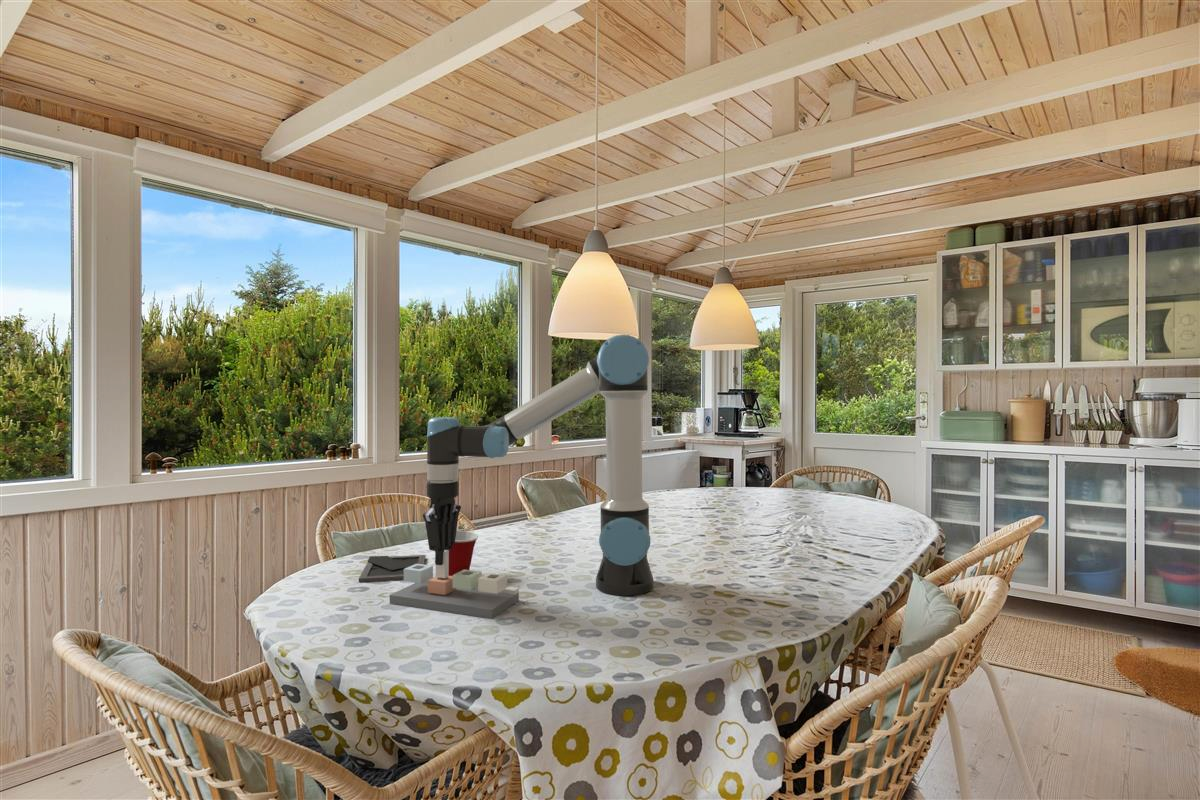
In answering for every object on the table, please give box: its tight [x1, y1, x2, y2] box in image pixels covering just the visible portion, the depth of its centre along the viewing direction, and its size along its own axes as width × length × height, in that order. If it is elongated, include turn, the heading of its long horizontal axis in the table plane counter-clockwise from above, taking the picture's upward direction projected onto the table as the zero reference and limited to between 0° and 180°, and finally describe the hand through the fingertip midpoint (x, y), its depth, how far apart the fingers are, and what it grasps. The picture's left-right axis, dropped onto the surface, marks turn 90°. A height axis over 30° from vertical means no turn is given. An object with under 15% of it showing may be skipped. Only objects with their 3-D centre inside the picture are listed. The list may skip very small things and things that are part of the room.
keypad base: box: [389, 576, 520, 620], centre depth 150 cm, size 28×13×3 cm, turn 70°
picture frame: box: [358, 554, 427, 583], centre depth 176 cm, size 16×2×21 cm
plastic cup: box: [449, 530, 479, 576], centre depth 169 cm, size 11×11×12 cm
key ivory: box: [478, 572, 508, 594], centre depth 146 cm, size 5×5×3 cm
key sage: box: [453, 570, 483, 590], centre depth 149 cm, size 5×5×3 cm
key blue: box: [403, 564, 434, 584], centre depth 153 cm, size 5×5×3 cm
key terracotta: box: [428, 576, 457, 595], centre depth 151 cm, size 5×5×3 cm
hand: (442, 576), depth 151 cm, fingers closed
